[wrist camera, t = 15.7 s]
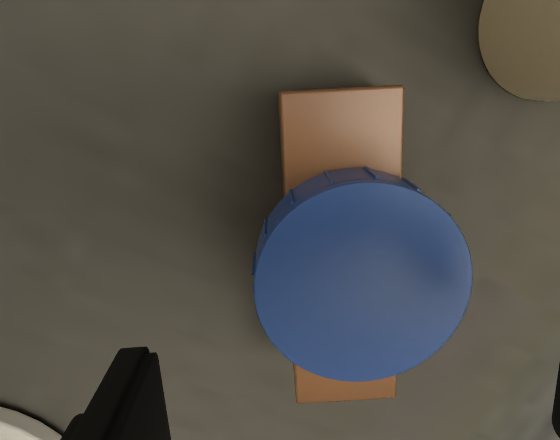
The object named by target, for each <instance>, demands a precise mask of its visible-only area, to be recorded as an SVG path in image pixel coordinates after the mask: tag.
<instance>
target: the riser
mask: <svg viewBox="0 0 560 440" xmlns="http://www.w3.org/2000/svg"><path fill="white" fill-rule="evenodd" d="M278 106H279V124H280V143H281V161H282V179H283V197H285V195H287V194H288V193H289V191H288V190H290V189H292V190H293V189H294V188H295V187H297V186H298V185H300V184H302V183H303V182H305V181H306V180H308V179H311V178H313V177H315V176H317V175H319V174H323V173H324V171H326V170H327V171H328V172H329V171H333V170H339V169H345V168H364V166H367V167H368V168H370V169H373V170H378V171H382V172H386V173H388V174H391V175H393V176H396V177H398V178H400V179H401V178H402V151H403V116H404V86H402V85H384V86H360V87H343V88H326V89H309V90H292V91H280V92H278ZM293 367H294V380H295V392H296V402H297V403H298V404H301V403H317V402H334V401H350V400H366V399H383V398H394V397H395V396H396V375H395V376H391V377H387V378H384V379H379V380H373V381H363V382H349V381H339V380H333V379H328V378H325V377H322V376H318V375H315V374H313V373H311V372H309V371H306V370H304V369H303V368H301V367H299V366H298V365H296V364H294V363H293Z"/></svg>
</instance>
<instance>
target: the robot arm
mask: <svg viewBox="0 0 560 440" xmlns="http://www.w3.org/2000/svg"><path fill="white" fill-rule="evenodd" d="M552 424H553V427H554V430H555V432H556V434H557V435H558V437H559V438H560V364H559V371H558V378H557V385H556V392H555V399H554V406H553V413H552ZM0 440H171V437H170V430H169V424H168V417H167V411H166V405H165V398H164V392H163V385H162V379H161V372H160V366H159V360H158V355H157V353H156V352H155V353H150V352H149V349H148V348H147V347H133V348H122V349H120V350H119V351H118V353H117V355H116V356H115V358H114V360H113V362H112V364H111V365H110V367H109V369H108V371H107V373H106V374H105V376H104V378H103V380H102V382H101V383H100V385H99V387H98V389H97V391H96V392H95V394H94V396H93V398H92V400H91V401H90V403H89V405H88V407H87V409H86V410H85V412H84V414H78V415H76V416H75V417H74V418H73V419H72V421H71V422H70V424H69V426H68V427H67V429H66V431H65V432H64V434H63V436H61V435H60V434H59V433H57V432H55V431H54V430H52V429H51V428H49V427H48V426H46V425H45V424H43V423H42V422H40V421H38V420H35V419H33V418H31V417H29V416H27V415H24V414H22V413H20V412H17V411H14V410H10V409H7V408H3V407H0Z"/></svg>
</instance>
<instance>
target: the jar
mask: <svg viewBox="0 0 560 440" xmlns="http://www.w3.org/2000/svg"><path fill="white" fill-rule="evenodd" d="M478 37H479V46H480V51H481V55H482V58H483V61H484V63H485V66H486V68H487V69H488V71H489V73H490V75H491V76H492V77H493V78H494V80H495V81H496V82H497V83H498V84H499V85H500V86H501V87H502V88H504V89H505V90H507V91H508V92H509V93H511V94H513V95H515V96H518V97H520V98H524V99H527V100H534V101H550V102H560V0H484V2H483V6H482V10H481V14H480V19H479V32H478Z"/></svg>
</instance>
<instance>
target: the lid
mask: <svg viewBox="0 0 560 440" xmlns="http://www.w3.org/2000/svg"><path fill="white" fill-rule="evenodd" d="M420 190H421V189H420V188H418V187H417V186H415V185H414V184H412V183H411V182H409V181H408V180H407V179H405V178H403V177H402V178H401V179H400V178H398V177H396V176H393V175H391V174H388V173H386V172H382V171H378V170H373V169H370V168H368V167H367V166H364V168H345V169H339V170H333V171H329V172H328V171H327V170H326V171H324V173H323V174H319V175H317V176H315V177H313V178H311V179H308V180H306V181H305V182H303V183H302V184H300V185H298V186H297V187H295V188H294V189H293V190H292V189H290V190H288V191H289V193H288V194H287V195H285V197H284V198H283V199H282V200H281V201H280V202H279V203H278V204H277V205H276V206H275V208H274V209H273V211H272V212H271V213H270V215H269V217H268V218H267V219H266V218H265V219H264V226H263V229H262V231H261V234H260V236H259V241H258V245H257V251H256V253H254V257H253V267H252V275H254V286H253V288H254V301H255V306H256V311H257V315H258V317H259V320H260V323H261V325H262V327H263V329H264V331H265V333H266V335H267V336H268V338H269V339H270V340H271V342H272V343H273V344H274V346H275V347H276V348H277V349H278V350H279V351H280V352H281V353H282V354H283V355H284V356H285V357H286V358H288V359H289V360H290V361H292V362H293V363H294V364H296V365H298V366H299V367H301V368H303V369H304V370H306V371H309V372H311V373H313V374H315V375H318V376H322V377H325V378H328V379H333V380H339V381H349V382H363V381H373V380H379V379H384V378H387V377H391V376H395V375H397V374H400V373H402V372H405V371H407V370H409V369H411V368H413V367H415V366H417V365H419V364H420V363H422V362H423V361H425V360H426V359H428V358H429V357H430V356H432V355H433V354H434V353H435V352H436V351H437V350H439V349H440V348H441V347H442V346H443V345H444V343H445V342H446V341H447V340H448V339H449V338H450V337H451V335H452V334H453V332H454V331H455V330H456V328H457V327H458V325H459V323H460V321H461V319H462V318H463V316H464V313H465V311H466V308H467V305H468V302H469V298H470V294H471V289H472V279H473V277H472V262H471V257H470V252H469V249H468V246H467V243H466V240H465V238H464V236H463V234H462V232H461V230H460V228H459V227H458V225H457V224H456V223H455V221H454V220H453V219H452V217H451V215H450V214H449V213H447V212H446V211H445V210H444V209H443V208H442V207H441V206H439V205H438V204H437V203H435V202H434V201H433V200H431V199H430V198H429V197H427V196H426V195H424V194H423V193H421V192H420Z"/></svg>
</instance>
